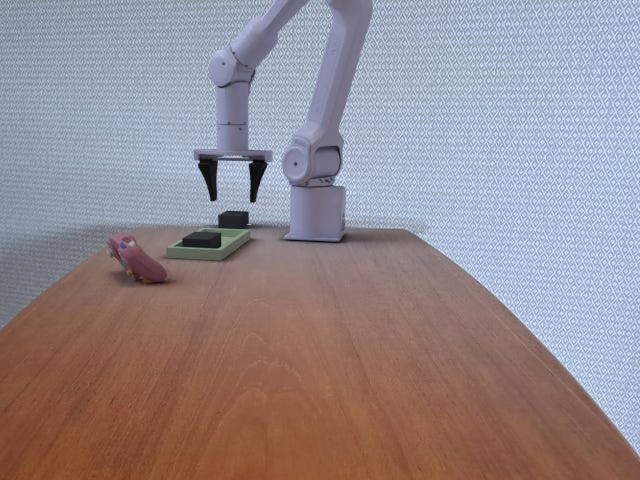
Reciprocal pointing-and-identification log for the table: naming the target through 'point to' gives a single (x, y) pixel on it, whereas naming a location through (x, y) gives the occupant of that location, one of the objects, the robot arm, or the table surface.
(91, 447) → the table surface
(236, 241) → the holder
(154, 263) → the video game controller
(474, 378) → the table surface
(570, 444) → the table surface
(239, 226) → the pad loose
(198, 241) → the pad seated
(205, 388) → the table surface
